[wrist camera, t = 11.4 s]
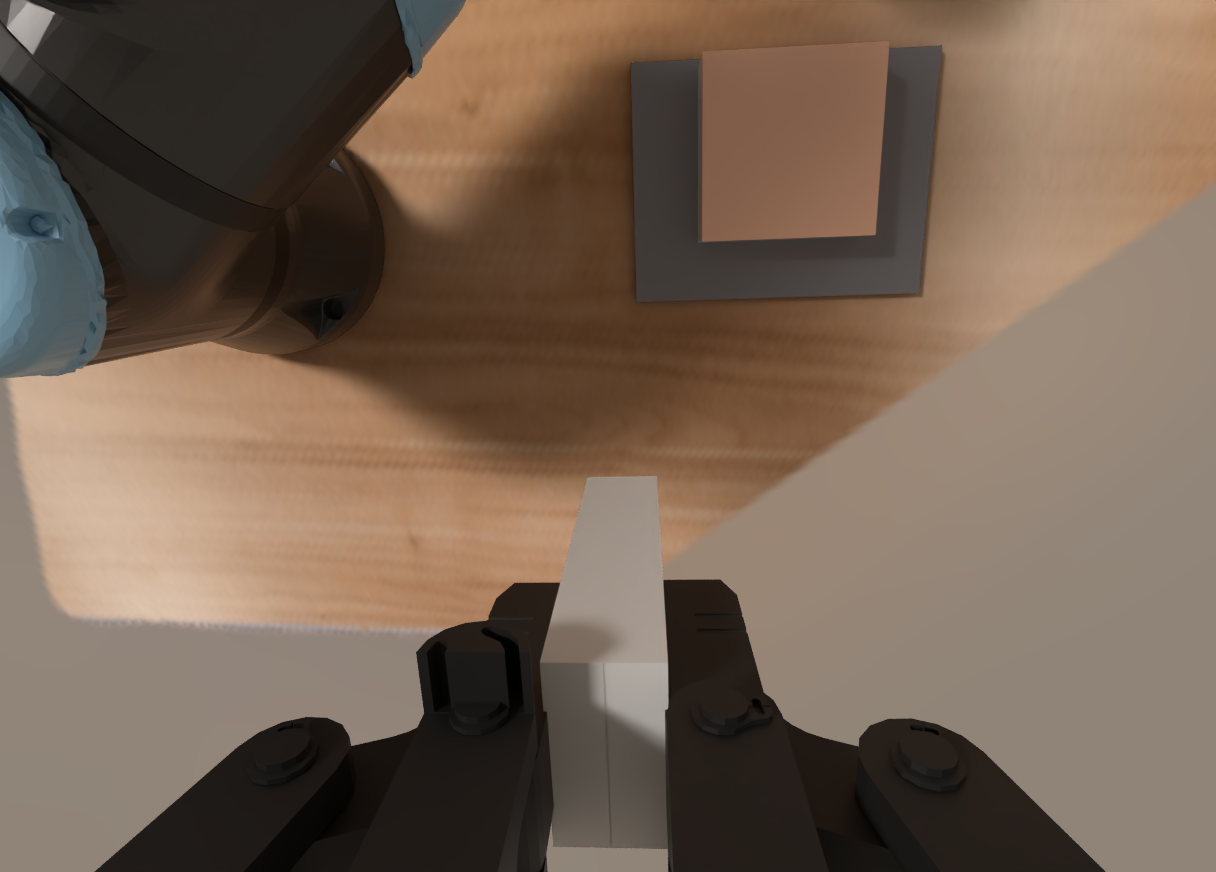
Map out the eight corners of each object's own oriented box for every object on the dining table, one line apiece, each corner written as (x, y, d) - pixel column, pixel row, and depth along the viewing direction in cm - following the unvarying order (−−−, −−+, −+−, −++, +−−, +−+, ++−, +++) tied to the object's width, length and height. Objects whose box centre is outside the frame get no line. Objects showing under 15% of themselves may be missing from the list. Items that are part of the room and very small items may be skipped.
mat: (636, 301, 42) (636, 302, 42) (630, 65, 39) (630, 62, 38) (915, 292, 41) (919, 293, 41) (937, 48, 38) (942, 45, 37)
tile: (702, 241, 38) (702, 51, 35) (697, 242, 41) (698, 67, 38) (875, 234, 37) (889, 40, 34) (858, 236, 40) (870, 57, 37)
